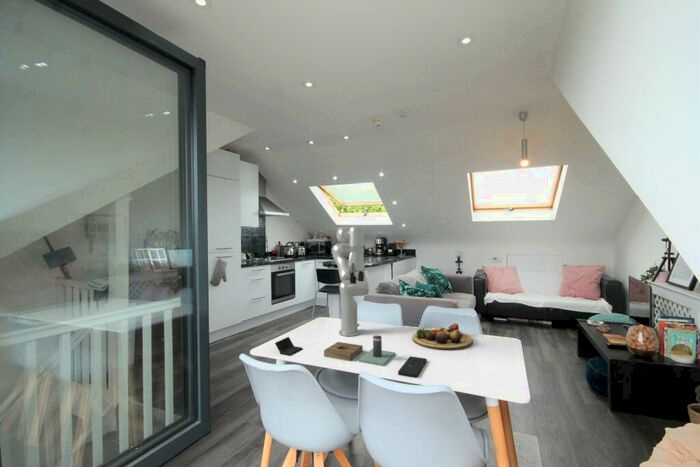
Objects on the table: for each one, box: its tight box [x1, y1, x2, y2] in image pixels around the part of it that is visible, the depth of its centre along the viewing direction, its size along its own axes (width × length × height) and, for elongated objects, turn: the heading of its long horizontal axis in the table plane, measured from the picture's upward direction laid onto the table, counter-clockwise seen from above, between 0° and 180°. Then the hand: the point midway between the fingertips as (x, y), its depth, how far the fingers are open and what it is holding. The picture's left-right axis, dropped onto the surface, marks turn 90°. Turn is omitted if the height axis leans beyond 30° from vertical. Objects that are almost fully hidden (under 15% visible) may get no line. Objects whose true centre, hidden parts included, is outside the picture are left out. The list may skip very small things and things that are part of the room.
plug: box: [372, 335, 383, 357], centre depth 156 cm, size 4×4×9 cm
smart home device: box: [397, 355, 428, 379], centre depth 144 cm, size 8×2×20 cm
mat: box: [358, 348, 396, 367], centre depth 156 cm, size 16×12×1 cm
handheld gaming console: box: [274, 336, 303, 357], centre depth 167 cm, size 12×7×10 cm
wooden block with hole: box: [323, 341, 364, 362], centre depth 161 cm, size 14×14×3 cm
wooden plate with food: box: [411, 323, 474, 351], centre depth 181 cm, size 32×32×8 cm
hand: (357, 282), depth 174 cm, fingers open, 9 cm apart
